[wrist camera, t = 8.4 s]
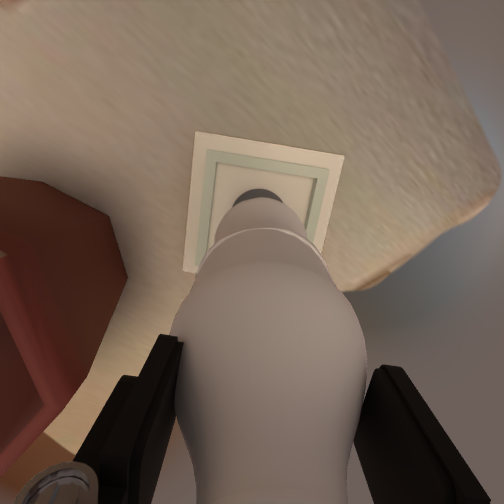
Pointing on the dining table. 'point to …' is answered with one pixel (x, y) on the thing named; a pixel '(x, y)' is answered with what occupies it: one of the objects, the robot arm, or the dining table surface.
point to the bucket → (49, 304)
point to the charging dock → (256, 186)
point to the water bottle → (268, 365)
